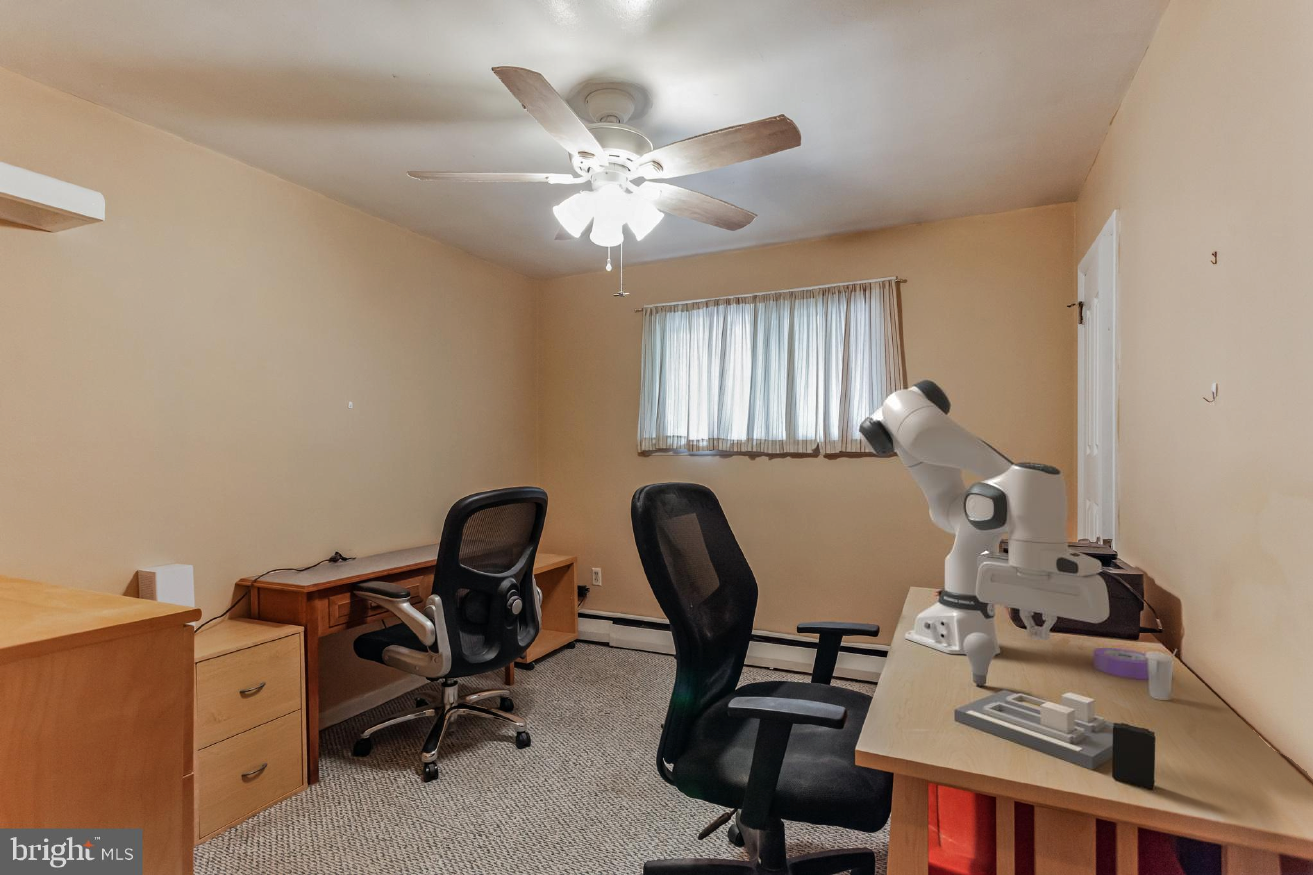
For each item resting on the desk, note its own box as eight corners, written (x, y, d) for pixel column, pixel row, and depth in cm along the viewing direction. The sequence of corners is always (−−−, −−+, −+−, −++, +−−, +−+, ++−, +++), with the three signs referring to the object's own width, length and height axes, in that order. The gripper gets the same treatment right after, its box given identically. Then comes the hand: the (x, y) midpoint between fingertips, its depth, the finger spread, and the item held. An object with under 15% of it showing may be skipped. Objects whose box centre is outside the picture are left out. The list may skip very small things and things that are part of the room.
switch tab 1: (1040, 729, 107) (1040, 705, 107) (1048, 725, 108) (1048, 701, 109) (1066, 738, 103) (1066, 713, 104) (1074, 733, 105) (1074, 709, 105)
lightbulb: (960, 679, 137) (960, 628, 138) (990, 682, 136) (990, 630, 136) (967, 689, 131) (967, 635, 132) (1000, 692, 130) (1000, 637, 130)
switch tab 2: (1061, 718, 111) (1061, 695, 111) (1069, 715, 113) (1069, 692, 113) (1087, 726, 108) (1087, 702, 108) (1094, 722, 110) (1094, 699, 110)
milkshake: (1184, 703, 126) (1183, 652, 126) (1153, 700, 127) (1152, 650, 127) (1170, 695, 130) (1170, 645, 131) (1140, 692, 131) (1140, 643, 132)
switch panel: (954, 720, 115) (954, 703, 115) (1004, 700, 126) (1004, 684, 126) (1092, 770, 97) (1092, 750, 97) (1137, 741, 108) (1136, 723, 108)
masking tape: (1081, 665, 150) (1081, 648, 150) (1119, 661, 153) (1119, 645, 153) (1131, 682, 138) (1131, 664, 138) (1170, 678, 142) (1170, 660, 142)
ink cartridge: (1154, 785, 93) (1155, 730, 93) (1154, 791, 91) (1155, 735, 92) (1113, 773, 96) (1114, 720, 96) (1111, 779, 95) (1112, 725, 95)
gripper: (968, 550, 116) (969, 627, 116) (1097, 566, 100) (1098, 656, 99) (986, 548, 120) (986, 622, 119) (1112, 563, 103) (1113, 649, 103)
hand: (1038, 638), depth 109 cm, fingers closed
